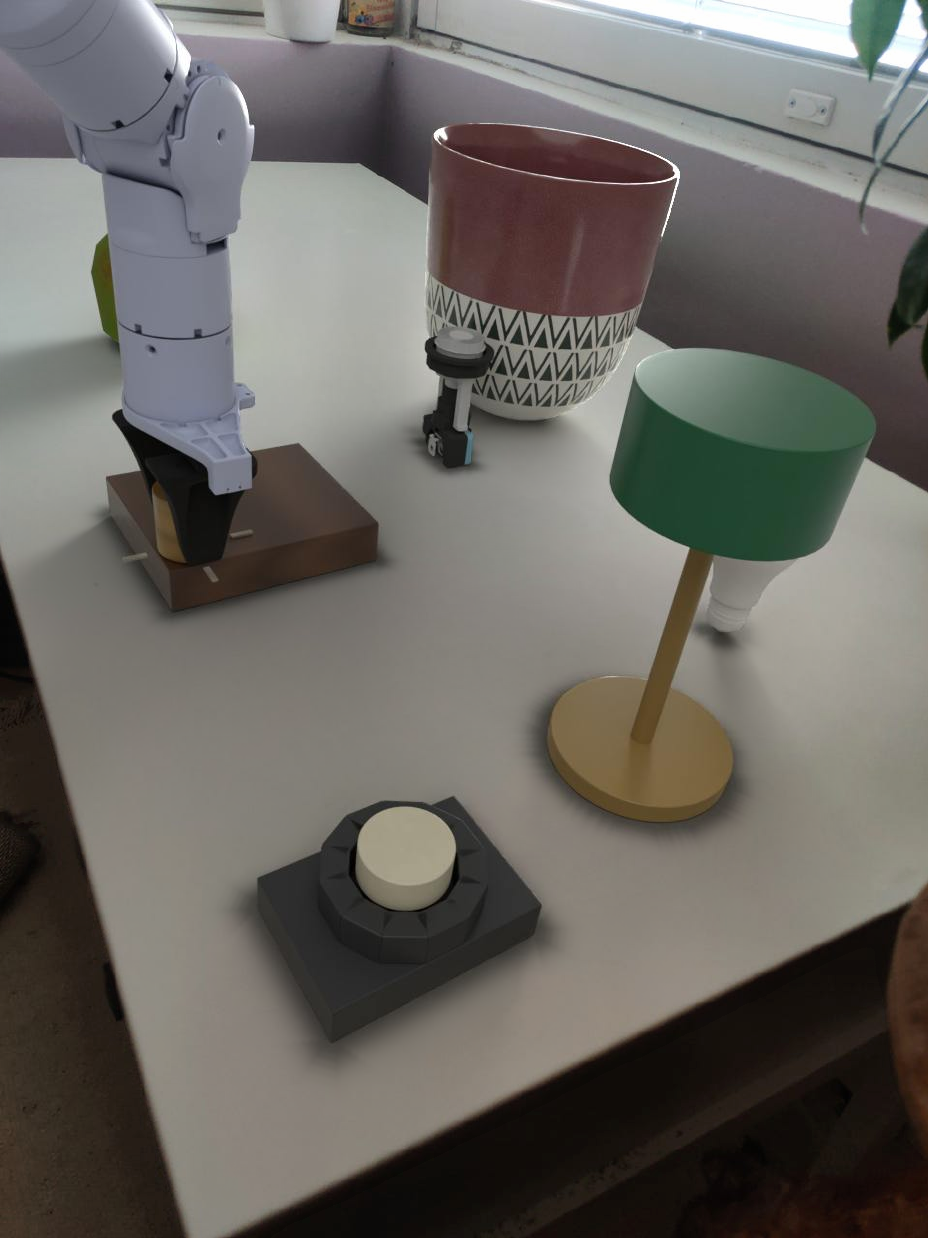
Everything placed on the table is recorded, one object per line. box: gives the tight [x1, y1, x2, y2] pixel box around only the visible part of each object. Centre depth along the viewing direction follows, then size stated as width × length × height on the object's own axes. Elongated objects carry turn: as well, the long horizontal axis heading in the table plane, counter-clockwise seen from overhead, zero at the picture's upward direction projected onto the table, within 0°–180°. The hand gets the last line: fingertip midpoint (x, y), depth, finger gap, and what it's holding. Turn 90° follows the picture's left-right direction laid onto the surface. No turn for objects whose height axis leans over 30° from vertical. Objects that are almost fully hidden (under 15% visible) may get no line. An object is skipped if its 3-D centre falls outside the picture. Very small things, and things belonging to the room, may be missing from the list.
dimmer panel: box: [105, 442, 380, 612], centre depth 61 cm, size 16×14×3 cm
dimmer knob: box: [152, 481, 187, 563], centre depth 55 cm, size 4×4×4 cm
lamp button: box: [355, 807, 456, 911], centre depth 38 cm, size 4×4×2 cm
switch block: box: [256, 795, 543, 1043], centre depth 40 cm, size 10×7×4 cm
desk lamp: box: [546, 347, 877, 823], centre depth 45 cm, size 10×10×21 cm
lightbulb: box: [705, 555, 800, 633], centre depth 58 cm, size 6×6×11 cm
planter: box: [424, 122, 680, 421], centre depth 79 cm, size 20×20×21 cm
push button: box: [420, 326, 494, 468], centre depth 74 cm, size 7×5×10 cm
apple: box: [90, 232, 119, 344], centre depth 84 cm, size 11×11×11 cm
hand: (190, 540), depth 56 cm, fingers closed on dimmer knob, 4 cm apart
